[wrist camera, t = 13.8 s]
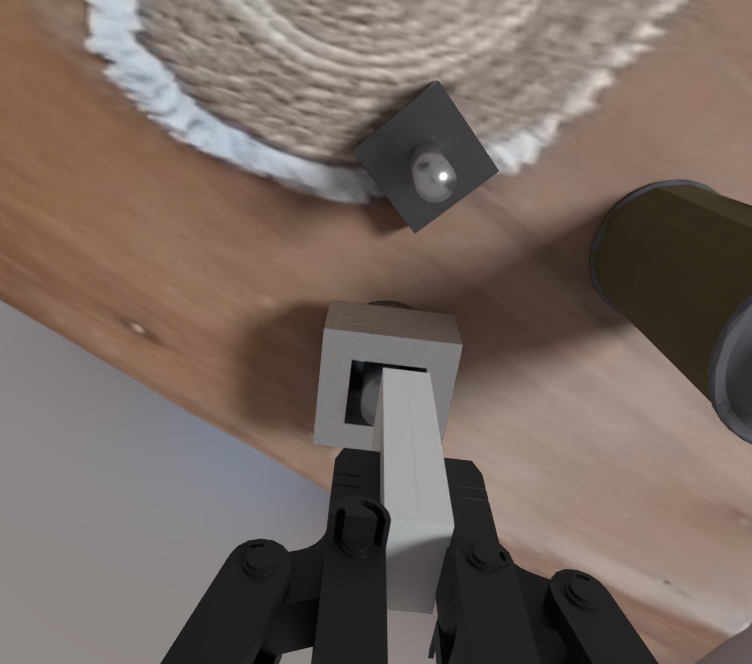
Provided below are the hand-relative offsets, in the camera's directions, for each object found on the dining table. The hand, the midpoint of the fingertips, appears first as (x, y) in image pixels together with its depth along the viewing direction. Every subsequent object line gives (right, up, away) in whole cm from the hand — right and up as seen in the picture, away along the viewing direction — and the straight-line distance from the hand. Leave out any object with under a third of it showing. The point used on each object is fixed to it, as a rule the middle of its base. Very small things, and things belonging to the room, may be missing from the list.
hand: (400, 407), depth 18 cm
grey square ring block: (0, 0, +25) cm, 25 cm away
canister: (+20, +9, +24) cm, 32 cm away
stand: (+2, +15, +21) cm, 26 cm away
